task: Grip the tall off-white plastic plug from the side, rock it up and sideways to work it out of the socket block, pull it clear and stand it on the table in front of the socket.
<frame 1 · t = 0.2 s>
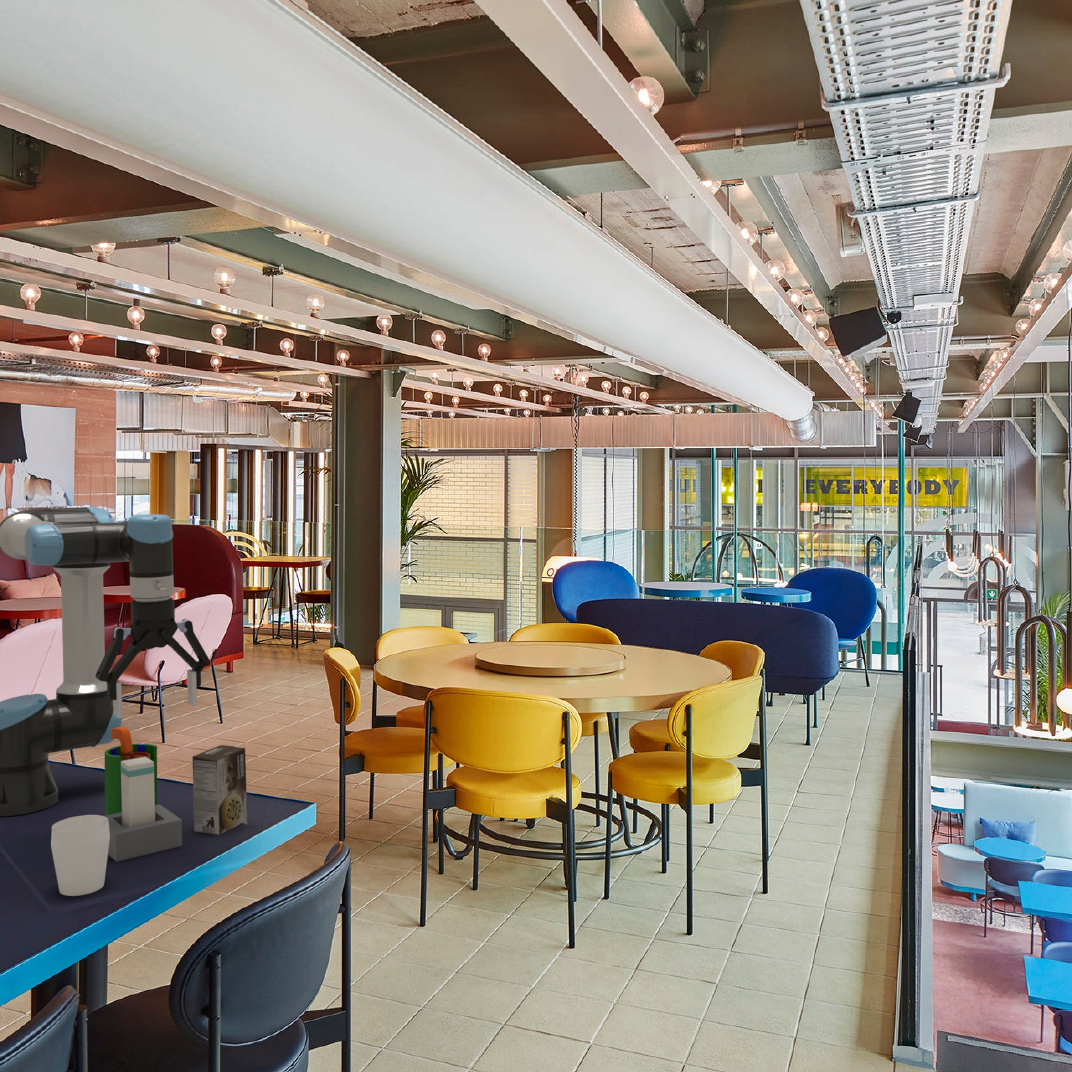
hand: (156, 710, 179), 27 cm above the table, tool pointing down, fingers open, 13 cm apart
plug: (139, 844, 183), point 1 cm above the table, touching socket
coffee box: (221, 831, 193), on the table
cup: (82, 894, 163), on the table
socket: (139, 849, 183), on the table
motor: (129, 826, 196), on the table
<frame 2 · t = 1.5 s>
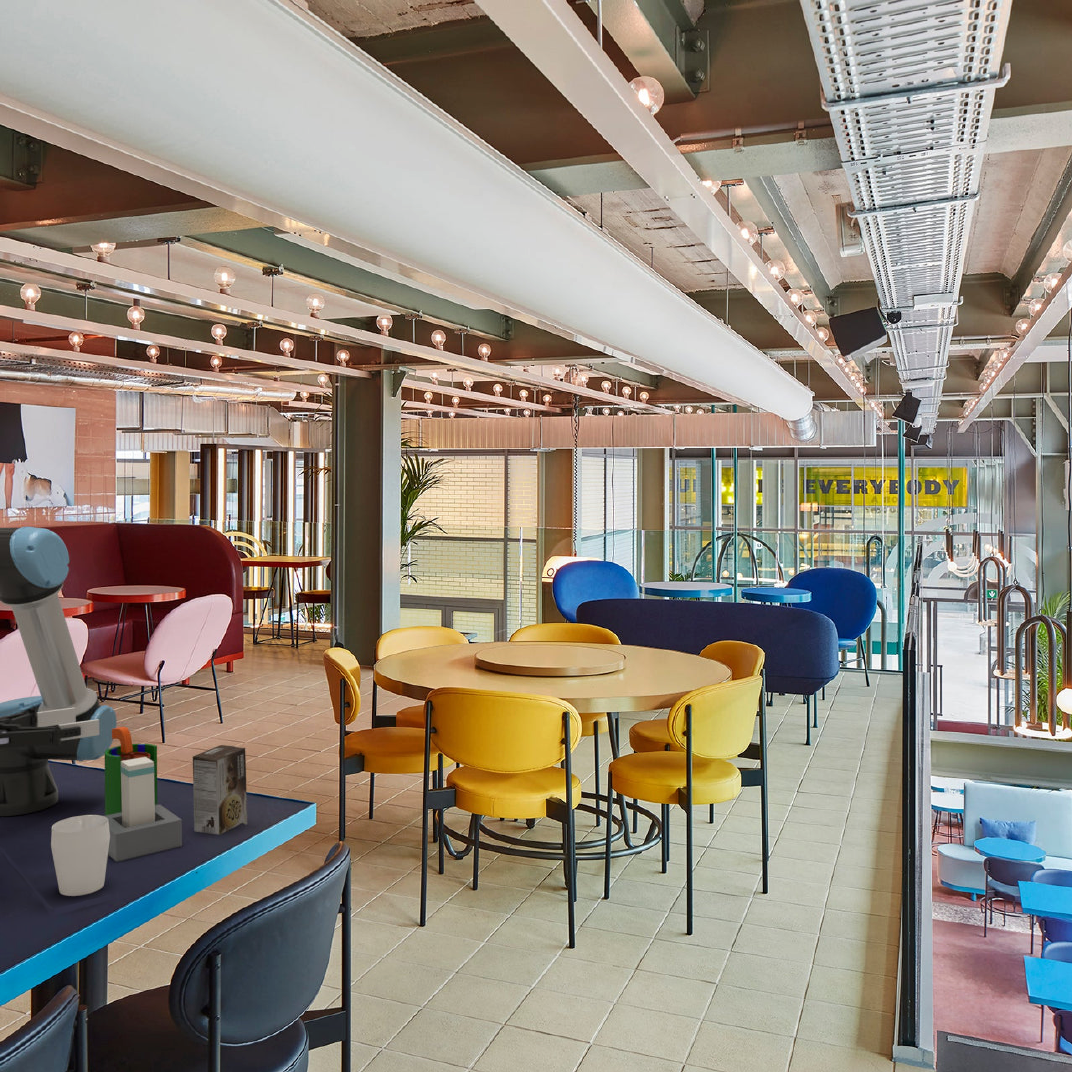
hand: (86, 720, 176), 26 cm above the table, tool horizontal, fingers open, 13 cm apart
nothing on the table moved.
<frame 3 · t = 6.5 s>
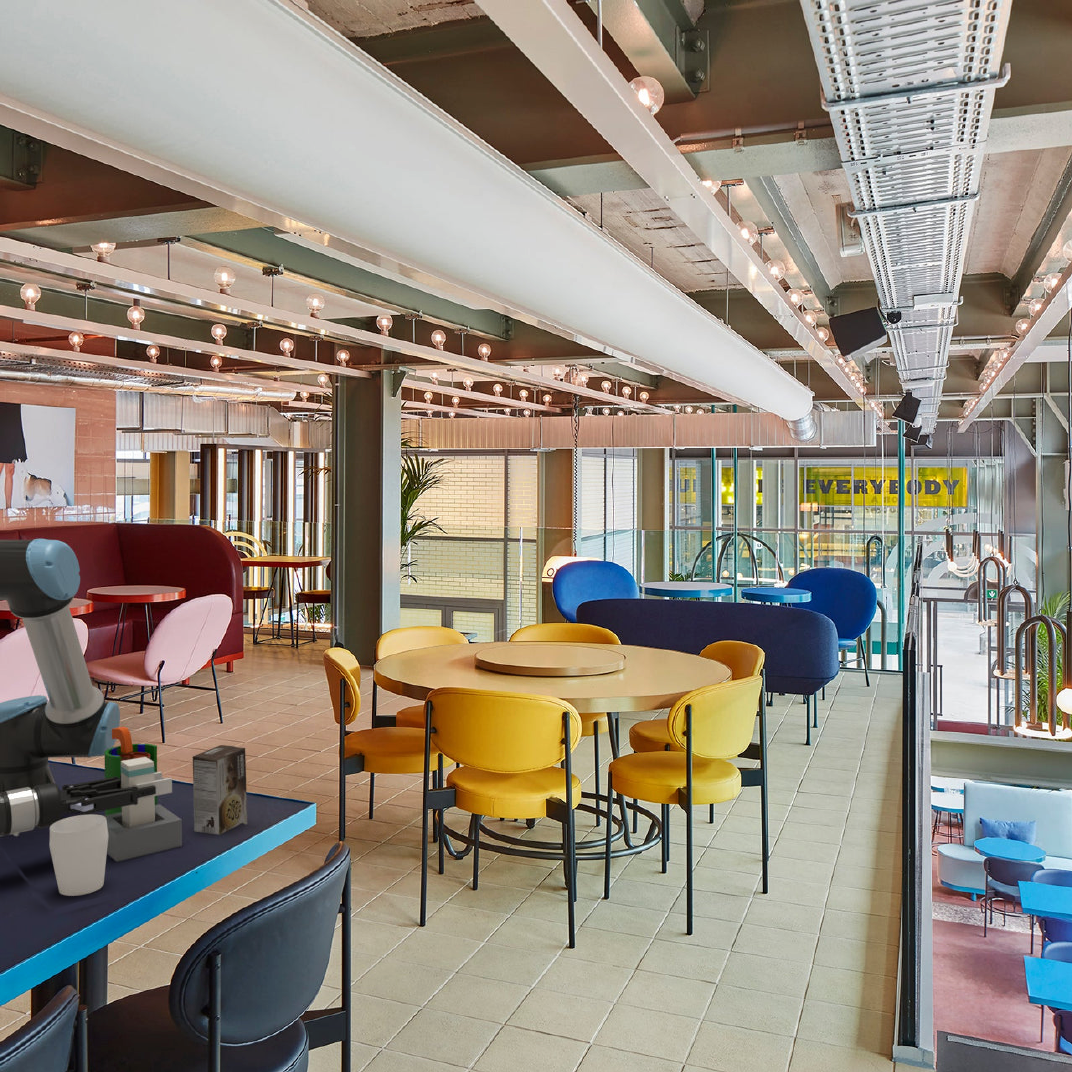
hand: (166, 781, 185), 12 cm above the table, tool horizontal, fingers closed on plug, 5 cm apart
plug: (139, 844, 183), point 1 cm above the table, touching gripper, socket
everything else where it was.
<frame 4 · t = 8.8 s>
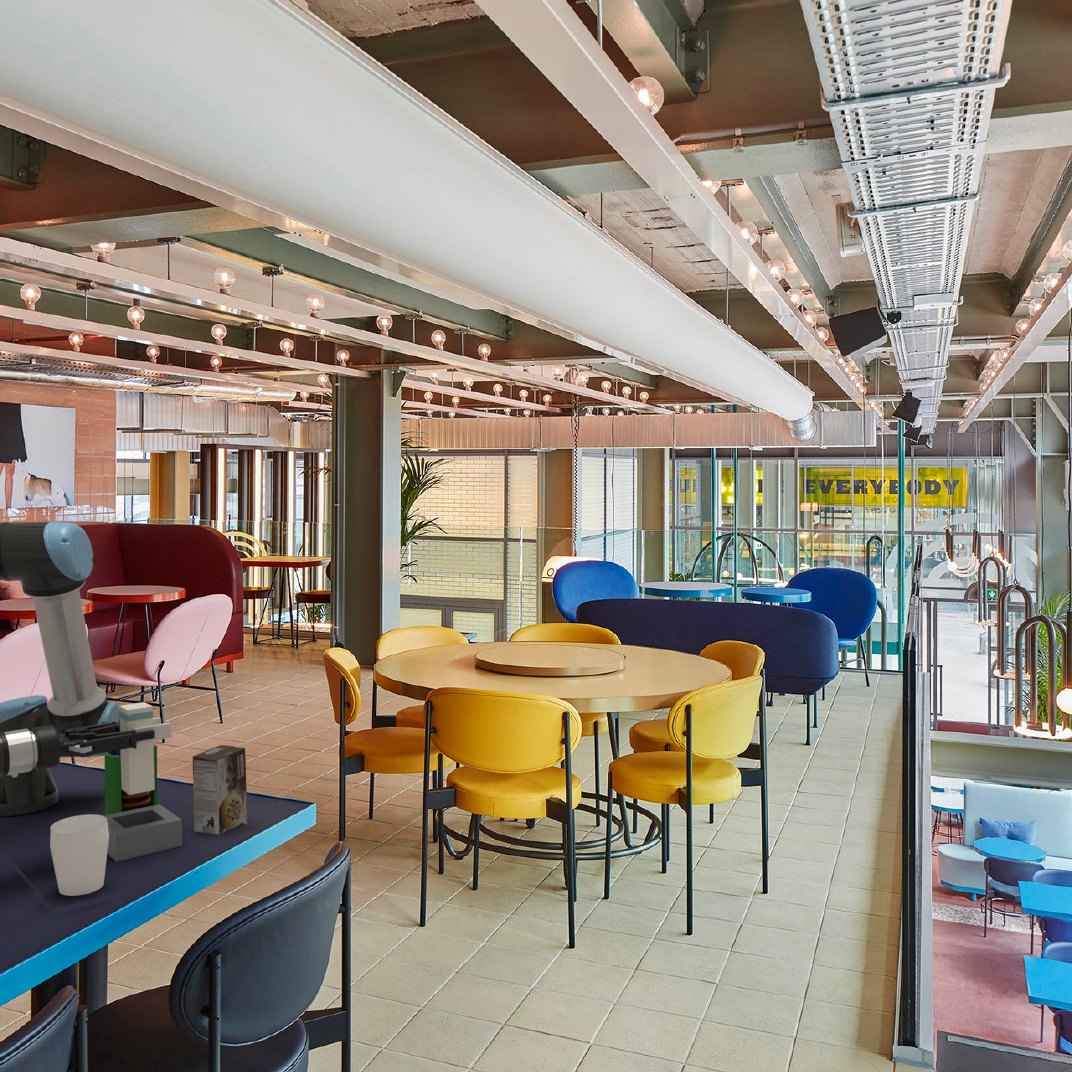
hand: (164, 727, 185), 23 cm above the table, tool horizontal, fingers closed on plug, 5 cm apart
plug: (138, 789, 182), point 12 cm above the table, touching gripper
everything else where it was.
when the fingers open (12 cm above the table, at t = 12.7 s): plug drops 1 cm, on the table.
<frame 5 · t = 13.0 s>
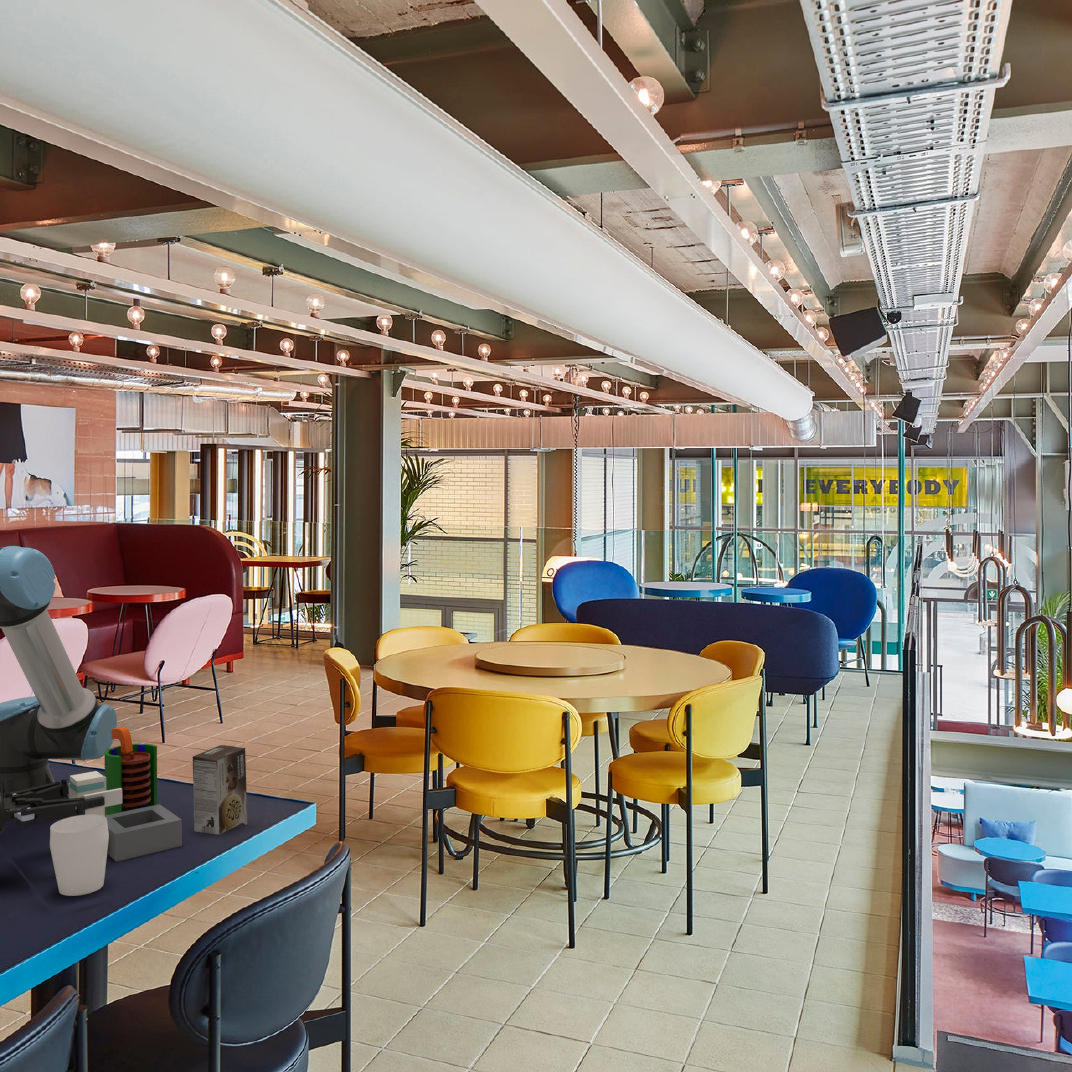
hand: (113, 789, 179), 12 cm above the table, tool horizontal, fingers open, 9 cm apart
plug: (88, 861, 177), on the table
everything else where it was.
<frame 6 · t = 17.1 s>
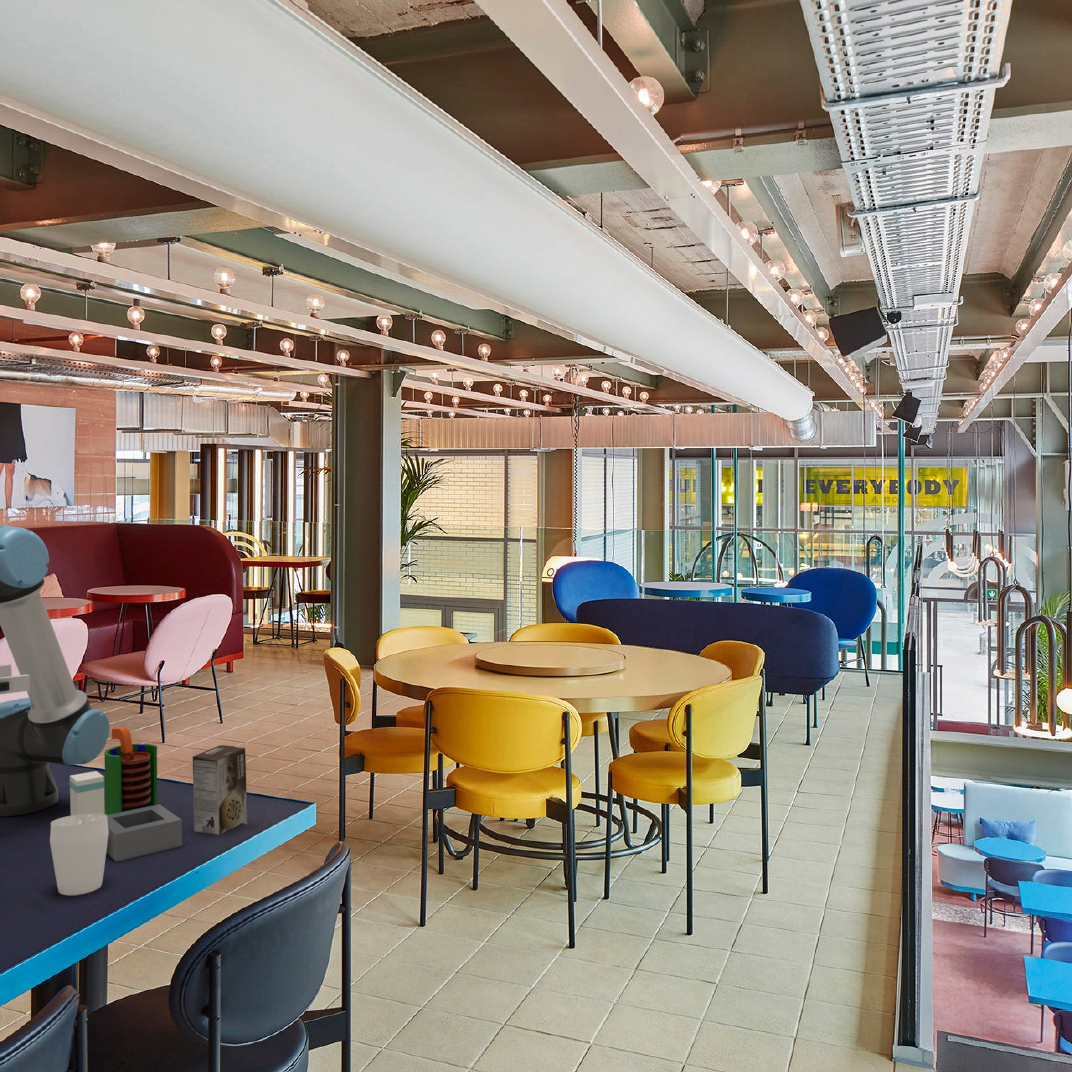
hand: (20, 676, 172), 35 cm above the table, tool horizontal, fingers open, 13 cm apart
at the end: plug inside the target area (1.0 cm from its centre), on the table; plug tilted 0°; the gripper is holding nothing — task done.
